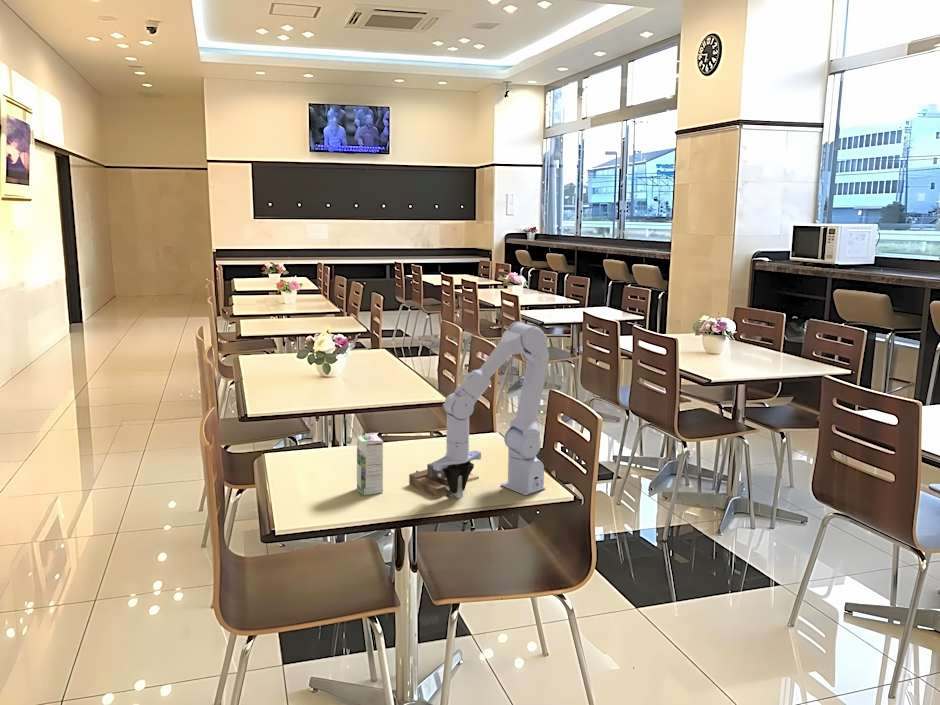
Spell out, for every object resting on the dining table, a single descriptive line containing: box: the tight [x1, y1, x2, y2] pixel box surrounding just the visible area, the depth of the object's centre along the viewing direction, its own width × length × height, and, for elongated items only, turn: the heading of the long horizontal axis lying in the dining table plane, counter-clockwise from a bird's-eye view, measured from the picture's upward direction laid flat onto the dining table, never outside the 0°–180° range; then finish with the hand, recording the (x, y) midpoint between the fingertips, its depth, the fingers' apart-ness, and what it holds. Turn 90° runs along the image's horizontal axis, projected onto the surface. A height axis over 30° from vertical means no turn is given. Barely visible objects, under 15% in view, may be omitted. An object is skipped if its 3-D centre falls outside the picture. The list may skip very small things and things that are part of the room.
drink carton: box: [356, 434, 384, 496], centre depth 201 cm, size 6×6×14 cm
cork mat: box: [467, 473, 480, 483], centre depth 214 cm, size 10×8×1 cm
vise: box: [408, 462, 449, 499], centre depth 206 cm, size 14×9×6 cm, turn 41°
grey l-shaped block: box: [444, 474, 464, 500], centre depth 200 cm, size 7×2×6 cm, turn 41°
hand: (457, 490), depth 199 cm, fingers closed on grey l-shaped block, 2 cm apart
